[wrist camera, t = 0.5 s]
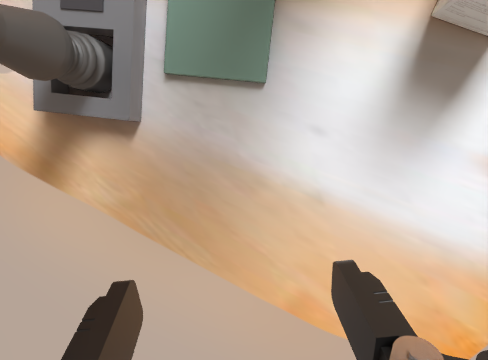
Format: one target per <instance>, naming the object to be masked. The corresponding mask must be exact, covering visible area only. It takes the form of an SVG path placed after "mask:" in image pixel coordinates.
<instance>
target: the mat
mask: <svg viewBox="0 0 488 360" xmlns="http://www.w3.org/2000/svg"><path fill="white" fill-rule="evenodd" d="M274 6H275V0H168V11H167V28H166V45H165V62H164V73H166V74H173V75H184V76H195V77H205V78H216V79H227V80H238V81H248V82H259V83H266V76H267V67H268V58H269V49H270V41H271V32H272V23H273V14H274Z"/></svg>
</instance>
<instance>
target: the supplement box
mask: <svg viewBox="0 0 488 360" xmlns="http://www.w3.org/2000/svg"><path fill="white" fill-rule="evenodd" d="M432 16H433V17H436V18H439V19H441V20H444V21H447V22H450V23H452V24H455V25H458V26H461V27H464V28H466V29H469V30H472V31H475V32H478V33H481V34H483V35H486V36H488V0H438V2H437V4H436V6H435V8H434V10H433V12H432Z"/></svg>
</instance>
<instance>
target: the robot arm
mask: <svg viewBox="0 0 488 360" xmlns="http://www.w3.org/2000/svg"><path fill="white" fill-rule="evenodd" d="M331 293H332V300H333V304H334V307H335V310H336V312H337V314H338V317H339V319H340V321H341V324H342V326H343V328H344V331H345V333H346V336H347V338H348V340H349V342H350V345H351V347H352V350H353V352H354V354H355V357H356V359H357V360H468V359H463V358H457V357H452V356H448V355H444V354H441V353H440V352H439V350H438V349H437V348H436V347H435V346H433V345H432V344H431V343H429V342H428V341H426V340H424V339H422V338H419V337H418V336H417V335H416V334H415V332H414V331H413V329H412V328H411V326H410V325H409V323H408V322H407V320H406V319H405V317H404V316H403V314H402V313H401V311H400V310H399V308H398V307H397V305H396V304H395V302H393V299H392V298H391V296H390V295H389V293H387V290H386V289H385V287H384V286H383V284H382V283H381V281H380V280H379V279H377V278H376V277H375V276H373V275H372V274H371V273H370V272H361V271H360V270H359V268H358V266H357V265H356V263H355V262H354V261H353V260H346V261H335V262H334V263H333V271H332V289H331ZM142 321H143V310H142V305H141V302H140V299H139V294H138V291H137V287H136V283H135V281H134V280H129V281H117V282H113V283H112V285H111V287H110V289H109V291H108V293H107V295H106V296H103V297H99V298H98V299H97V300H96V301H95V302H94V303H93V304H92V305H91V306H90V307H89V308H88V310H87V312H86V313H85V315H84V317H83V319H82V322H81V323H80V325H79V327H78V328H77V332H75V334H74V336H73V338H72V340H71V342H70V343H69V346H68V347H67V349H66V351H65V353H64V355H63V357H62V359H61V360H131V359H132V356H133V353H134V349H135V346H136V342H137V339H138V336H139V332H140V329H141V326H142ZM476 360H488V350H487V351H482V352H480V353H479V354H478V355H477V358H476Z"/></svg>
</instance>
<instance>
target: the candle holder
mask: <svg viewBox="0 0 488 360" xmlns="http://www.w3.org/2000/svg"><path fill="white" fill-rule="evenodd" d="M0 64H2V65H4V66H6V67H8V68H10V69H12V70H14V71H16V72H17V73H19V74H21V75H23V76H25V77H27V78H29V79H34V80H41V81H49V80H53V79H58V80H59V81H61V82H63V83H64V84H67V85H69V86H71V87H73V88H75V89H80V90H85V91H89V92H95V93H102V92H106V91H109V90H110V89H111V88H112V66H113V48H112V47H110V46H109V45H107V44H105V43H104V42H102V41H100V40H98V39H96V38H94V37H92V36H90V35H88V34H84V33H79V32H75V31H68V30H67V31H66V30H65V28H64V27H63V25H62V24H61V23H60V22H59V21H57V20H56V19H54V18H52V17H51V16H49V15H48V14H46V13H44V12H40V11H34V10H29V9H23V8H18V7H13V6H7V5H2V4H0Z"/></svg>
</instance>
